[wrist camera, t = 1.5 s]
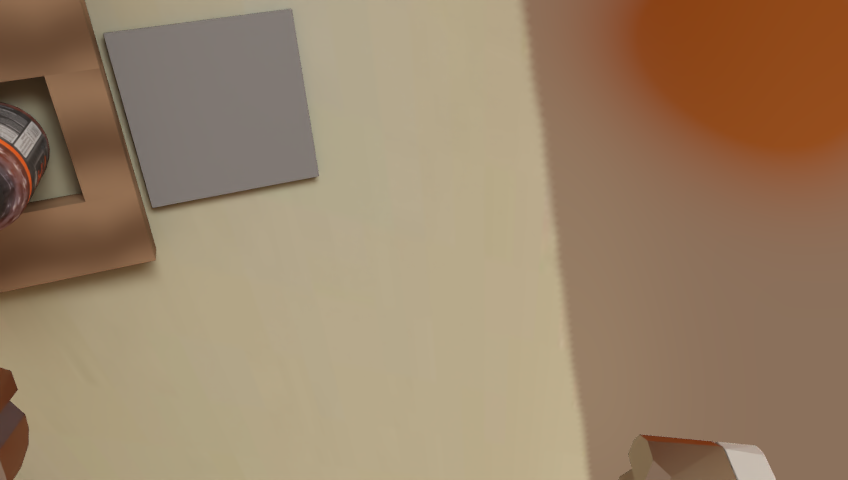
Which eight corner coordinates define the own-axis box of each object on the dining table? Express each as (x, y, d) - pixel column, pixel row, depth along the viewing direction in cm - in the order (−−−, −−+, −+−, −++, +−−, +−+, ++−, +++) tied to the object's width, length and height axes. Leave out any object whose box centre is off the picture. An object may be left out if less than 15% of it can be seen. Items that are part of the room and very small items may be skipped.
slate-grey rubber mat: (104, 33, 44) (103, 34, 44) (290, 8, 47) (291, 9, 47) (152, 204, 50) (152, 207, 49) (317, 173, 52) (319, 176, 52)
